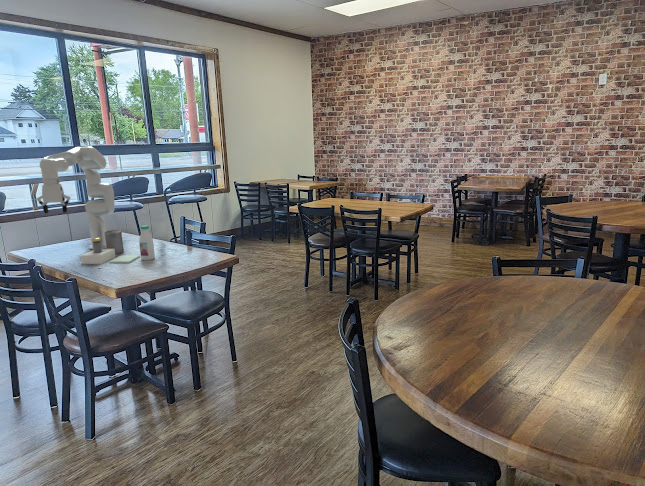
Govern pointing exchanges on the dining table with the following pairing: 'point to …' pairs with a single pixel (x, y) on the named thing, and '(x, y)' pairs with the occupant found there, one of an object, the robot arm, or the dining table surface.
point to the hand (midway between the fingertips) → (55, 212)
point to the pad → (125, 259)
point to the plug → (97, 245)
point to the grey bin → (114, 241)
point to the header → (97, 256)
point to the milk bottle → (146, 244)
